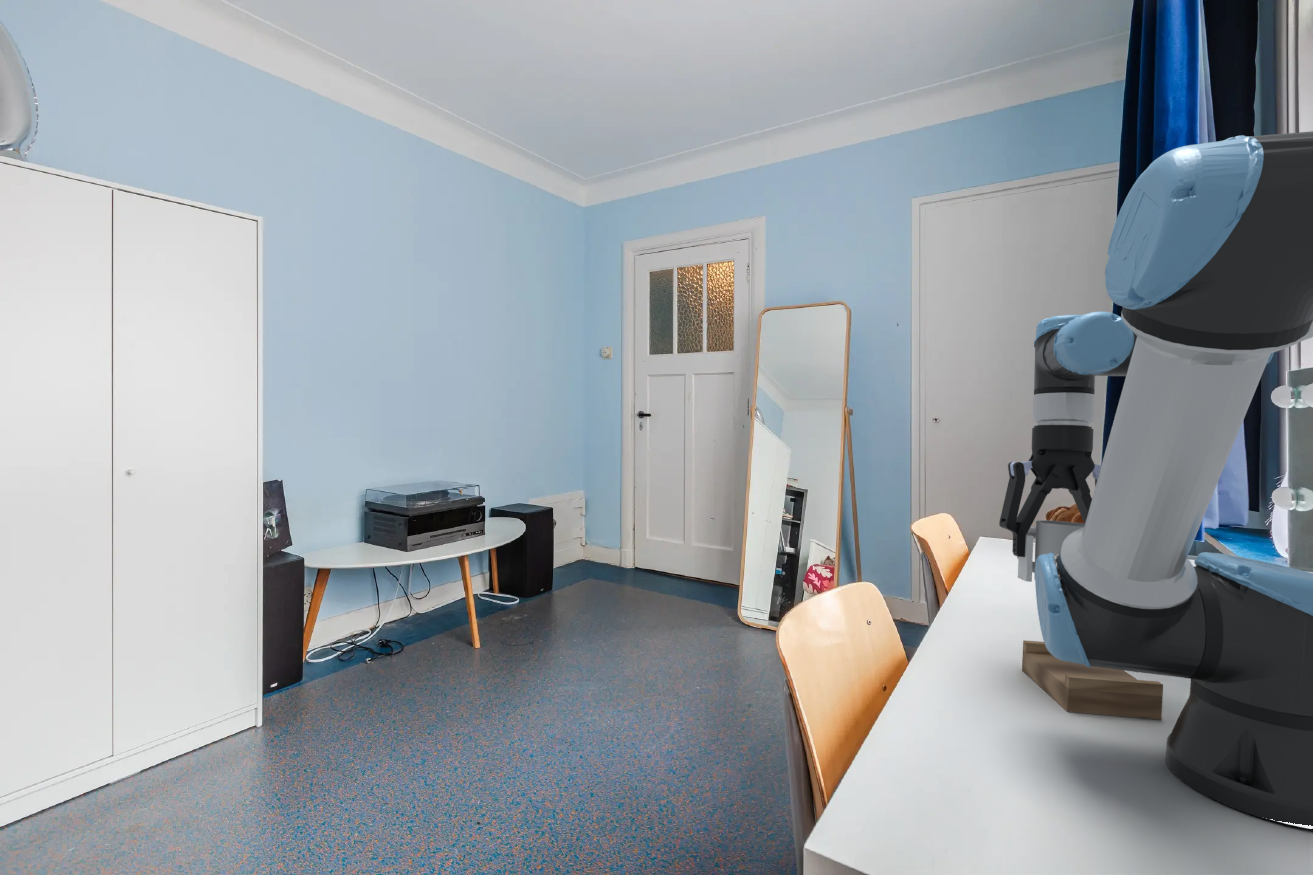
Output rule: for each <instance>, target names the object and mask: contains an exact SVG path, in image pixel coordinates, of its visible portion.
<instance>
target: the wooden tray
mask: <svg viewBox="0 0 1313 875" xmlns="http://www.w3.org/2000/svg"><path fill="white" fill-rule="evenodd" d="M1022 641H1023V642H1022V643H1023V644H1022V664H1021V671H1022V672H1023V673H1024V674H1025V675H1027V676H1028V677H1029V679H1031V680H1032V681H1033V682H1034V683H1035V684H1037V685H1038V686H1039V688H1041V689H1042V690H1043V691H1044V692H1045V693H1046V694H1048V696H1050V697H1051V698H1052V699H1053V700H1054V701H1056V703H1057V704H1059V706H1061V707H1062V708H1063V710H1065V711H1066V712H1068V713H1079V714H1093V715H1102V716H1115V717H1124V718H1137V719H1146V720H1147V719H1149V720H1159V721H1160V720H1162V712H1163V694H1164V684H1163V683H1162V682H1160V681H1157V680H1156V681H1154V680H1144V679H1137V678H1136V677H1134V676H1133V675H1131V674H1130V673H1128V671H1125V670H1117V669H1109V668H1100V667H1087V666H1086V665H1082V664H1077V663H1071V662H1066V661H1061V660H1059V659H1057V658H1055V657H1054V656H1053V655H1052V654H1051V653H1050V652H1049V651H1048V650H1047V648H1046V646H1045V643H1044V641H1036V640H1035V641H1034V640H1022Z"/></svg>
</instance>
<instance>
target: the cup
mask: <svg viewBox="0 0 1313 875" xmlns="http://www.w3.org/2000/svg"><path fill="white" fill-rule="evenodd" d="M1084 527H1085V524H1084V522H1082V523H1081V522H1074V521H1073V522H1072V521H1061V520H1048V519H1047V520H1043V519H1042V520H1038V519H1037V520H1035V526H1032V525H1031V527H1030V529H1029V531H1028V533H1027V535H1031V536H1033V539H1034V538H1035V544H1034V549H1035V550H1034V560H1033V561H1032V574H1034V575H1033V576H1034V579H1033V580H1035V564H1036V560H1037V558H1038V556H1040V555H1042V554H1049V553H1054V554H1055V555H1059V554H1060V550H1061V546H1062V544H1063V542H1064V540H1065V538H1066V537H1067V536H1068V535H1069V534H1071V533H1073V532H1074V531H1076V530H1078V529H1081V528H1084ZM1016 558H1017V559H1018V556H1016Z"/></svg>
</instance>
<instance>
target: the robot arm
mask: <svg viewBox="0 0 1313 875" xmlns="http://www.w3.org/2000/svg"><path fill="white" fill-rule="evenodd" d="M1107 255H1108V260H1107V262H1106V265H1105V272H1104V274H1105V281H1104V282H1105V287H1106V288H1105V289H1106V291H1107V295H1108V297H1109V299H1110V300H1111V301H1112V303H1114V304H1116V305H1117V306H1121V307H1122V309H1121V312H1120V313H1121V316H1119V315H1118V314H1115V313H1113V312H1109V311H1099V310H1098V311H1091V312H1087V313H1085V314H1064V315H1055V316H1051V317H1049V318H1048V317H1047V318H1044V319H1042V320H1040V321H1039V322H1038V323H1037V325H1036V331H1035V340H1034V341H1033V347H1034V375H1033V376H1034V377H1033V378H1034V379H1033V397H1032V398H1033V400H1032V403H1033V405H1032V421H1033V422H1034V423H1036V425H1033V427H1032V428H1031V456H1030V457H1029V459H1028V461H1011V462H1009V463H1008V464H1007V469H1008V477H1009V479H1008V482H1007V487H1006V491H1005V496H1004V501H1003V505H1002V510H1001V514H1000V517H999V523H998V525H999V527H1000V528H1001V529H1005V530H1008V531H1010V532H1011V533H1012V549H1011V550H1012V554H1013V556H1015V557H1017V556H1018V558H1017V560H1018V561H1017V562H1018V563H1017V578H1018V579H1020V580H1022V581H1024V582H1027V583H1028V582H1031V583H1033V582H1032V581H1033V572H1032V561H1033V562H1034V559H1033V556H1034V554H1033V553H1034V537H1033V536H1031V535H1027V533H1028V531H1029V529H1030V527H1032V525H1033V523H1034V521H1035V519H1036V517H1037V515H1038V514H1039V512H1040V510H1041V508H1042V506H1043V504H1044V502H1045V500H1046V498H1047V496H1048V495H1049V494H1050V493H1051V492H1052V490H1053V489H1054V490H1055V489H1056V490H1058V489H1064V490H1068V492H1069V493H1070V495H1071V496H1072V497H1073V500H1074V503H1075V505H1076V507H1077V509H1078V512H1079V514H1080V516H1081V519H1082V521H1083V524H1085V527H1084V528H1081V529H1078V530H1076V531H1074V532H1073V533H1071V534H1069V535H1068V536H1067V537H1066V538H1065V540H1064V542H1063V544H1062V546H1061V550H1060V554H1059V555H1055V554H1054V553H1049V554H1042V555H1040V556H1038V558H1037V560H1036V564H1035V579H1034V583H1035V585H1034V586H1035V598H1036V607H1037V608H1036V609H1037V614H1038V615H1037V616H1038V621H1039V626H1040V631H1041V636H1042V640H1043V642H1044V643H1045V646H1046V648H1047V650H1048V651H1049V652H1050V653H1051V654H1052V655H1053V656H1054V657H1055V658H1057V659H1059V660H1061V661H1066V662H1071V663H1077V664H1082V665H1086V666H1087V667H1100V668H1109V669H1117V670H1124V671H1125V672H1133V673H1142V674H1149V675H1150V674H1151V675H1156V676H1157V675H1158V676H1167V677H1174V678H1175V677H1176V678H1182V679H1190V686H1189V694H1188V698H1187V700H1186V702H1185V703H1184V706H1183V708H1182V709H1181V712H1180V714H1179V715H1178V717H1177V719H1176V721H1175V724H1174V726H1173V728H1172V730H1171V732H1170V733H1169V735H1168V736H1167V739H1166V743H1165V744H1166V746H1165V764H1166V765H1167V767H1168V769H1169V770H1170V771H1171V773H1173V775H1175V777H1177V778H1178V779H1179V780H1181V781H1182V782H1183V783H1185V784H1186V785H1188V786H1189V787H1191V788H1192V789H1194V790H1195V791H1197V792H1199V793H1201V794H1203V795H1205V796H1206V797H1208V798H1211V799H1212V800H1215V801H1217V802H1220V803H1222V804H1223V805H1226V806H1228V807H1231V808H1233V809H1236V810H1238V811H1241V812H1242V813H1245V814H1248V815H1251V814H1252V815H1251V816H1255V817H1257V816H1258V818H1260V817H1264V818H1267V819H1273V820H1275V821H1282V822H1288V823H1289V822H1290V823H1293V824H1294V823H1295V824H1302V825H1308V826H1309V825H1311V826H1313V572H1309V571H1306V570H1301V569H1297V568H1293V567H1291V566H1284V565H1283V564H1282V565H1281V564H1277V563H1273V562H1267V561H1263V560H1258V559H1254V558H1253V559H1252V558H1248V557H1243V556H1239V555H1238V556H1236V555H1232V554H1225V553H1219V552H1210V551H1209V552H1207V551H1204V552H1200V553H1198V554H1197V556H1196V558H1195V559H1194V564H1195V565H1193V564H1192V561H1191V560H1189V559H1188V556H1189V554H1190V551H1191V549H1192V546H1193V543H1194V542H1195V539H1196V537H1197V535H1198V534H1197V533H1198V531H1199V530H1200V528H1201V524H1202V523H1203V520H1204V517H1205V515H1206V512H1207V510H1208V507H1209V505H1210V503H1211V500H1212V498H1213V495H1214V493H1215V490H1216V488H1217V485H1218V483H1219V481H1220V478H1221V476H1222V473H1223V471H1224V469H1225V467H1226V463H1227V461H1228V459H1229V456H1230V454H1231V452H1232V449H1233V447H1234V444H1235V442H1236V440H1237V437H1238V435H1239V431H1240V429H1241V427H1242V424H1243V422H1244V420H1245V417H1246V415H1247V412H1248V410H1249V407H1250V405H1251V402H1252V400H1253V397H1254V396H1255V393H1256V390H1257V388H1258V386H1259V384H1260V381H1261V378H1262V376H1263V373H1264V371H1265V368H1266V366H1267V365H1268V364H1269V363H1271V361H1272V358H1273V357H1274V355H1275V354H1274V353H1276V352H1279V351H1282V350H1285V349H1288V348H1289V347H1293V346H1294V345H1297V344H1299V343H1301V342H1303V341H1305V340H1309V339H1312V338H1313V131H1301V132H1289V133H1288V132H1287V133H1277V134H1276V133H1275V134H1274V133H1273V134H1264V135H1252V136H1251V135H1250V136H1246V135H1243V134H1242V135H1237V136H1232V137H1228V138H1226V139H1224V140H1219V141H1212V142H1204V143H1197V144H1189V145H1183V146H1179V147H1176V148H1173V149H1171V150H1169V151H1167V152H1165V153H1162V155H1160V156H1158V157H1157V158H1156V159H1155V160H1153V161H1152V162H1151V163H1149V165H1148V167H1146V169H1145V170H1144V171H1143V172H1142V173H1141V174H1140V175H1139V177H1138V178H1137V179H1136V181H1135V182H1134V184H1133V185H1132V187H1131V188H1130V190H1129V192H1128V194H1127V196H1126V197H1125V199H1124V202H1123V204H1122V206H1121V207H1120V210H1119V213H1118V215H1117V217H1116V221H1115V223H1114V226H1113V230H1112V232H1111V236H1110V239H1109V244H1108V248H1107ZM1096 377H1125V379H1124V383H1123V386H1122V390H1121V394H1120V397H1119V400H1118V405H1117V408H1116V412H1115V414H1114V418H1113V419H1114V420H1113V423H1112V426H1111V430H1110V432H1109V433H1110V434H1109V436H1108V440H1107V445H1106V448H1105V450H1104V455H1103V458H1102V462H1101V465H1100V464H1095V461H1093V457H1092V452H1093V449H1094V428H1093V427H1092V426H1090V425H1089V424H1091V423H1093V422H1094V421H1095V390H1096V389H1095V387H1096V386H1095V385H1096V384H1095V383H1096ZM1030 470H1031V472H1032V473H1033V475H1034V476H1035V479H1034V481H1033V483H1032V485H1031V486H1030V492H1029V493H1028V495H1027V498H1026V499H1025V501H1024V504H1023V506H1022V507H1021V506H1020V505H1021V501H1022V499H1023V498H1022V497H1023V493H1024V489H1025V488H1024V487H1025V486H1026V485H1025V484H1026V476H1027V477H1028V474H1029V471H1030ZM1091 473H1092V478H1093V479H1094V491H1093V495H1091V489H1090V487H1089V484H1088V482H1087V478H1088V477H1089V476H1090V475H1091ZM1020 507H1021V509H1020ZM1019 510H1020V511H1019ZM1267 819H1266V820H1267Z"/></svg>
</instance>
